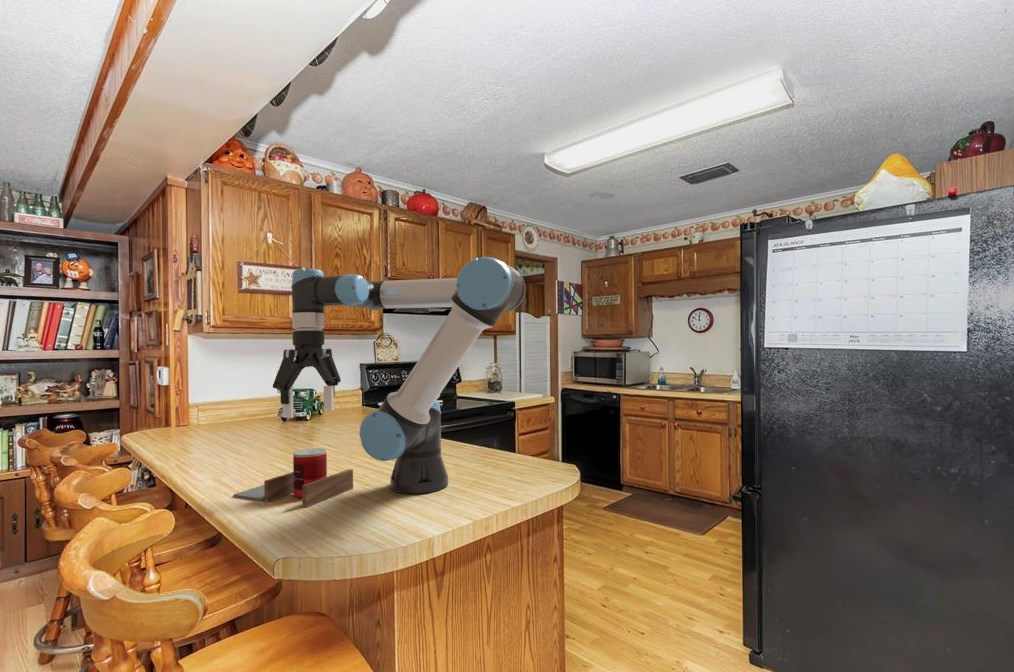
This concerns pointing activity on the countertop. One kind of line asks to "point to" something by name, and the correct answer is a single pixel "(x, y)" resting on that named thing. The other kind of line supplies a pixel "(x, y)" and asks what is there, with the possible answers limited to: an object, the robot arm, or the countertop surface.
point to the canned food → (308, 468)
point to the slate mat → (252, 494)
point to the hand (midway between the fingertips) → (309, 413)
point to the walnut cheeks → (309, 487)
